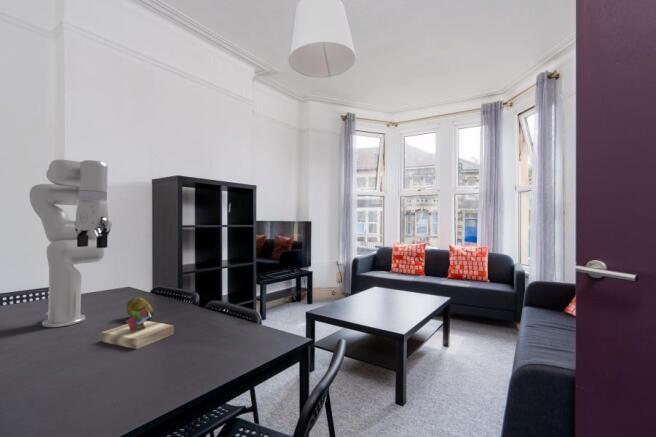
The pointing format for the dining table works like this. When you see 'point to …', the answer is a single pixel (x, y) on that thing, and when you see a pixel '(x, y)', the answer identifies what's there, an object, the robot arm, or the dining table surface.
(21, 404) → the dining table surface
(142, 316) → the geometric puzzle
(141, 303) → the potato
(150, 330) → the birch platform
